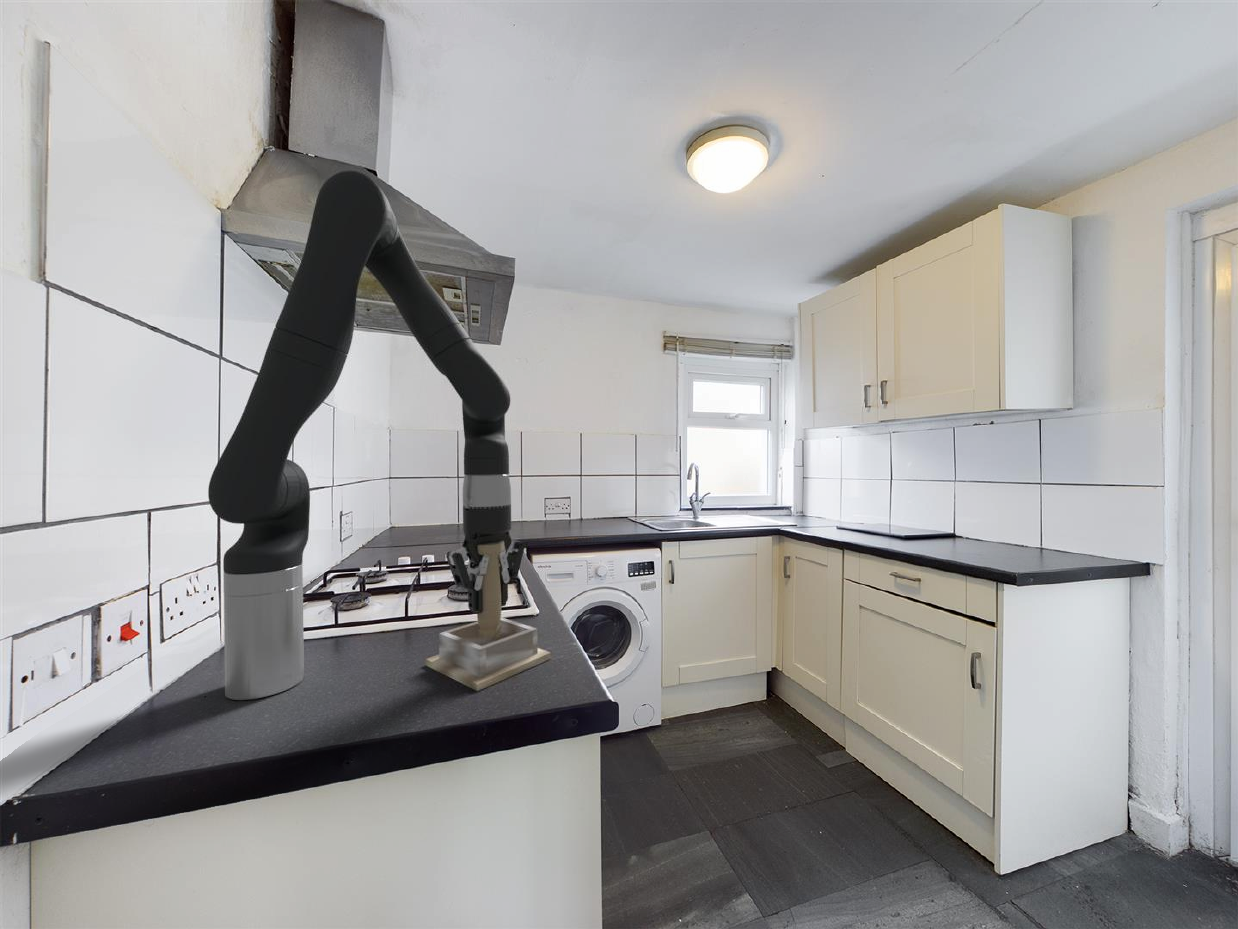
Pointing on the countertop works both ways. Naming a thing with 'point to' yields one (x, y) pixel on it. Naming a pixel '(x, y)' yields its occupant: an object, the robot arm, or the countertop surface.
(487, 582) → the handle
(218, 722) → the countertop surface
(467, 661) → the small square bin
